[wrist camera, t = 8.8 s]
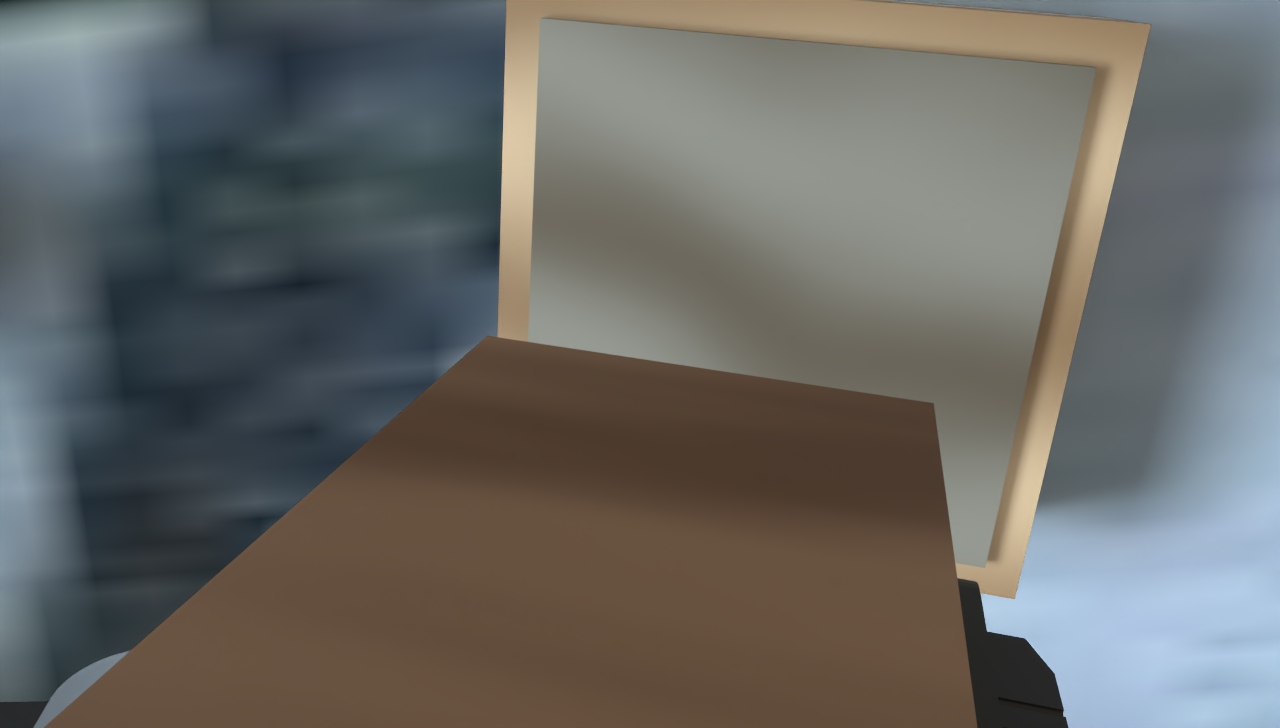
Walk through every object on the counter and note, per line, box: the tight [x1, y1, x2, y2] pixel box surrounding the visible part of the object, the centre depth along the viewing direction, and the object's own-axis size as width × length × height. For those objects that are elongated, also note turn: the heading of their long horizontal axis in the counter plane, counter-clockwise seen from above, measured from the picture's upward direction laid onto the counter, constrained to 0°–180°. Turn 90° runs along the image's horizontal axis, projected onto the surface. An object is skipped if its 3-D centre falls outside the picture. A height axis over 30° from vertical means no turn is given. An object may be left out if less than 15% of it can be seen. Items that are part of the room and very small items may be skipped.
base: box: [498, 0, 1151, 599], centre depth 23 cm, size 12×12×4 cm
